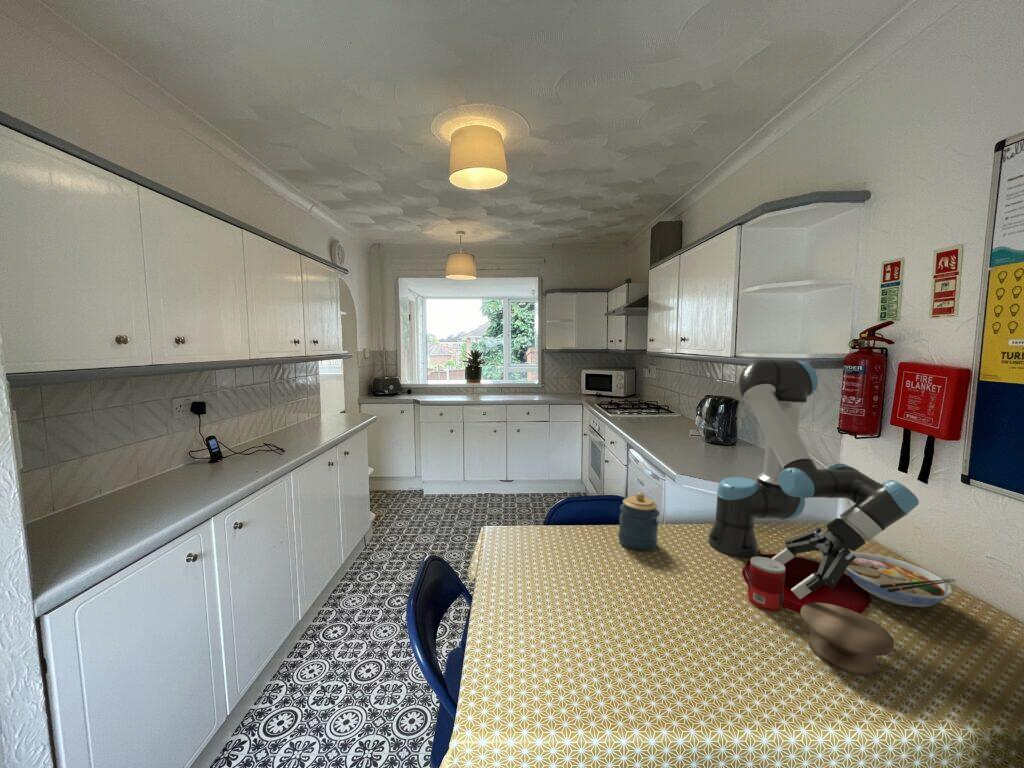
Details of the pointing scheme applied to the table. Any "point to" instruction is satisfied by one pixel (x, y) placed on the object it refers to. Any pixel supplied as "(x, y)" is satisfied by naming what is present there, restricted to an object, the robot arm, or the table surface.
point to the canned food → (766, 583)
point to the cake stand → (845, 638)
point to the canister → (638, 523)
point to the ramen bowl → (897, 581)
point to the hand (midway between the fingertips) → (782, 579)
